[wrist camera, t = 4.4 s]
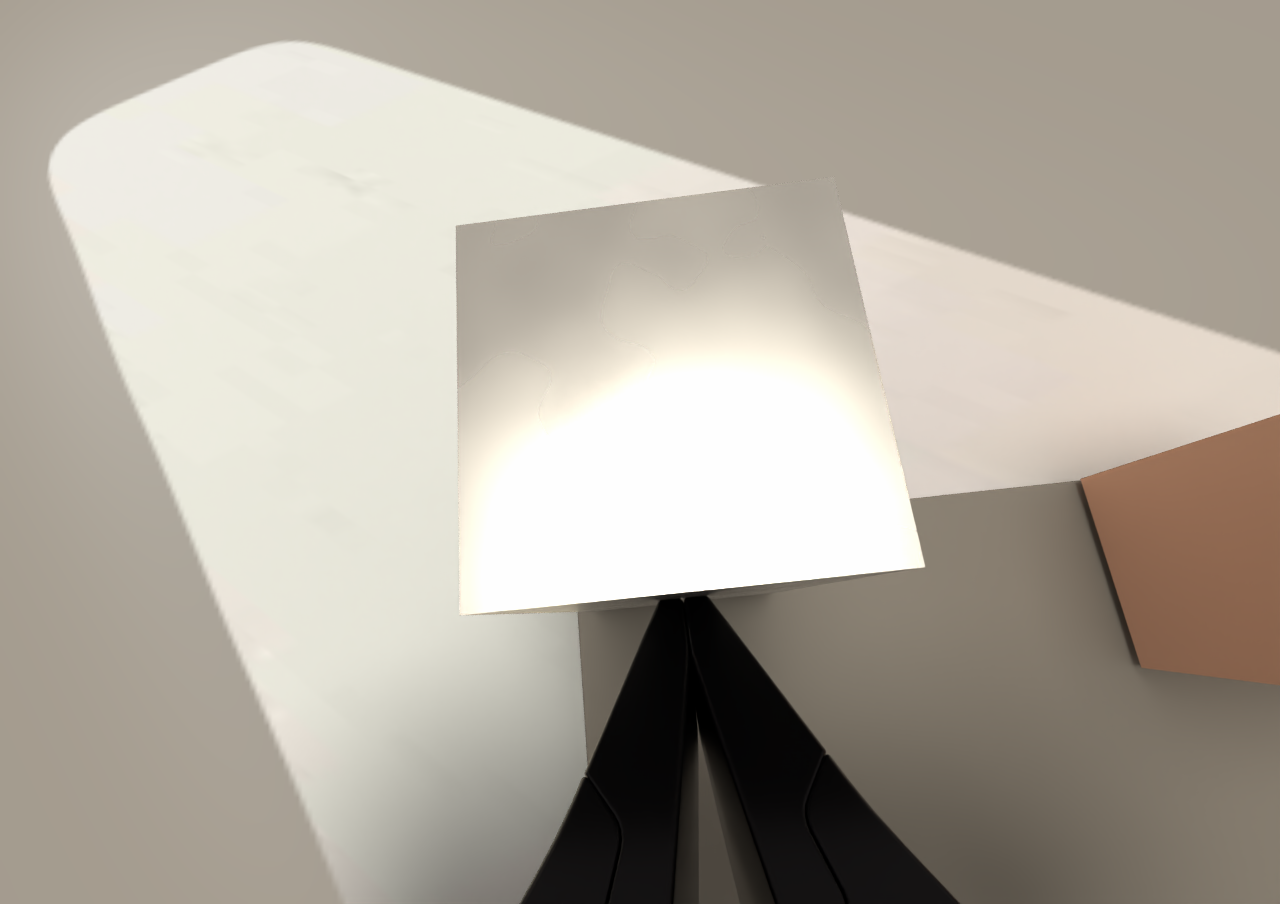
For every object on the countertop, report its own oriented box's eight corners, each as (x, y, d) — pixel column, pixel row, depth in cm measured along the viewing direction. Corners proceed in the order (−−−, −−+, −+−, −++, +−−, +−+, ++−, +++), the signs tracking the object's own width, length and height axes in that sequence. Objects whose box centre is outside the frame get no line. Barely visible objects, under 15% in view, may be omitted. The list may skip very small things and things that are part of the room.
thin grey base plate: (1441, 993, 13) (1512, 1029, 12) (614, 1054, 14) (609, 1092, 13) (1232, 470, 17) (1272, 460, 16) (579, 540, 18) (572, 535, 17)
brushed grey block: (772, 593, 16) (924, 566, 6) (593, 611, 16) (459, 615, 6) (745, 422, 17) (833, 176, 7) (581, 441, 17) (455, 225, 7)
